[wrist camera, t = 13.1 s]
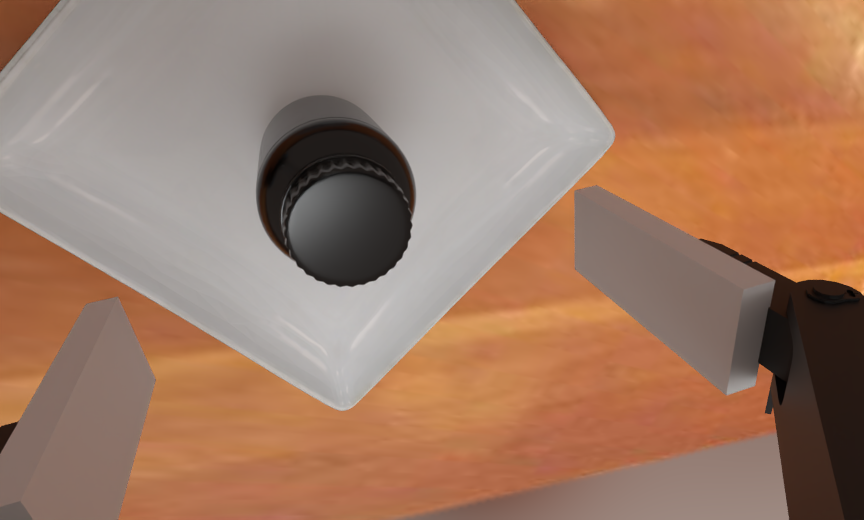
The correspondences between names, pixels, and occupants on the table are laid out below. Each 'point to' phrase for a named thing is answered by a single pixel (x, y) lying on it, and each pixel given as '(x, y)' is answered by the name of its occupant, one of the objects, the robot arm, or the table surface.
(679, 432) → the table surface
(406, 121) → the square plate
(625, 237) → the robot arm
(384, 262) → the supplement bottle
